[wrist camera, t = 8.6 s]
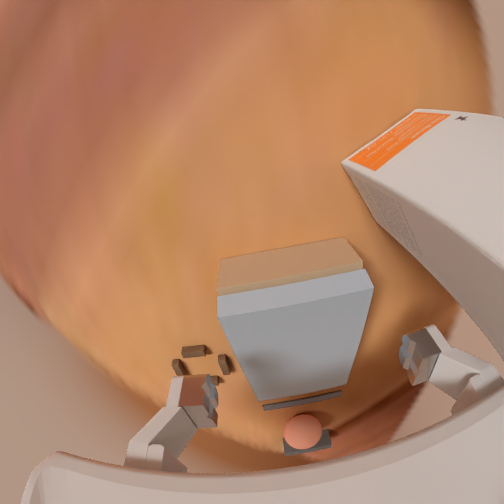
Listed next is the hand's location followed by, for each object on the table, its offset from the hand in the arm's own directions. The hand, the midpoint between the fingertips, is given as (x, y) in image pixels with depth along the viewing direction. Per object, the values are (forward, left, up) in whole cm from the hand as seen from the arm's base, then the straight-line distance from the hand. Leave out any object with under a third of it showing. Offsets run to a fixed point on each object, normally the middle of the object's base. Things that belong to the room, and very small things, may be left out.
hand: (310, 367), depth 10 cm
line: (+13, 0, -7) cm, 15 cm away
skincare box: (-6, +7, -7) cm, 11 cm away
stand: (+6, -7, -7) cm, 11 cm away
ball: (+17, 0, -4) cm, 18 cm away
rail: (+21, 0, -7) cm, 22 cm away
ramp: (+4, 0, -7) cm, 8 cm away
